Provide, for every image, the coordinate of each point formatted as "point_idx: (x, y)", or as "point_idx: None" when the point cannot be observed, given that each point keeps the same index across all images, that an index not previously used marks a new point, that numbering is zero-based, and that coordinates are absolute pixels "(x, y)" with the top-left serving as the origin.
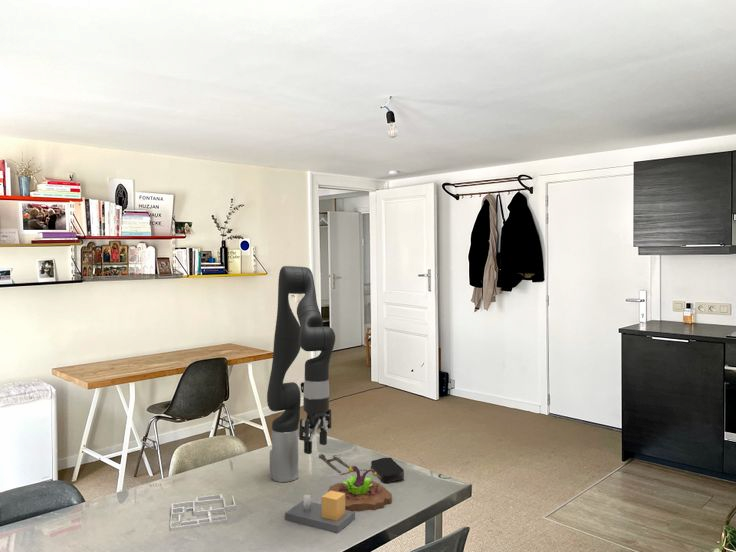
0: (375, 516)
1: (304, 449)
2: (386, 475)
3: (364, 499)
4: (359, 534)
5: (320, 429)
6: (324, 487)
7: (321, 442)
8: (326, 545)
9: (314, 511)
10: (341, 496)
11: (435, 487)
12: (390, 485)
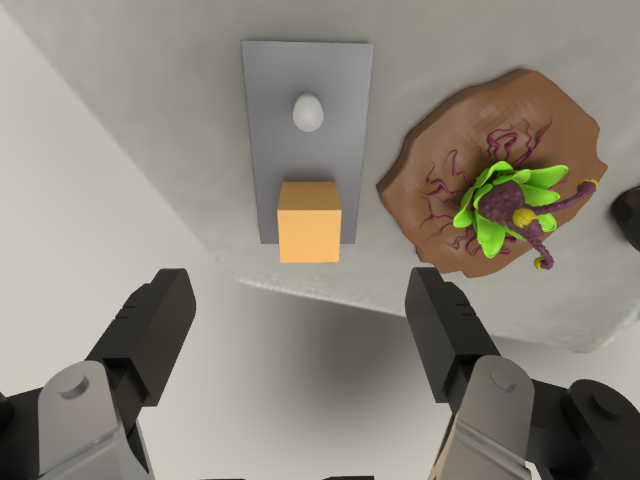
0: (383, 266)
1: (128, 304)
2: (629, 223)
3: (437, 234)
4: (284, 273)
5: (465, 396)
6: (568, 17)
7: (414, 290)
8: (197, 238)
9: (305, 140)
10: (312, 261)
11: (578, 314)
12: (591, 225)
